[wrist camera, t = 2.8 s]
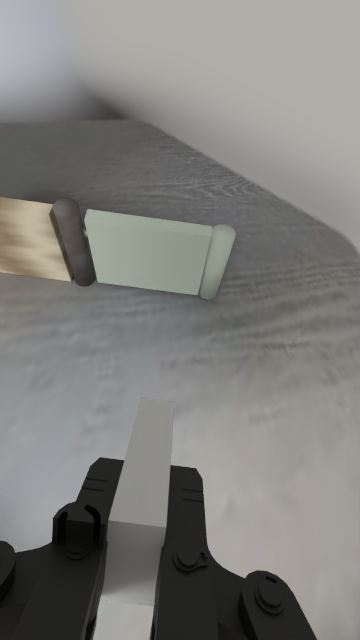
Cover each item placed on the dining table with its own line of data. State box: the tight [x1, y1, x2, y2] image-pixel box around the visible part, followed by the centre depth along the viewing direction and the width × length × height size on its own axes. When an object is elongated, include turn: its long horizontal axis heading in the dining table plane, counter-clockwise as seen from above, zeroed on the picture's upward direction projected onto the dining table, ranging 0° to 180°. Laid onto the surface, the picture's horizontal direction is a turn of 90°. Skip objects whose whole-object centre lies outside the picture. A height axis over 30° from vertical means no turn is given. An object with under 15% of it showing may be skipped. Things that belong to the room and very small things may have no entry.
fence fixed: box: [0, 197, 95, 286], centre depth 30 cm, size 14×2×10 cm, turn 84°
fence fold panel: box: [84, 209, 236, 300], centre depth 31 cm, size 12×2×8 cm, turn 84°
